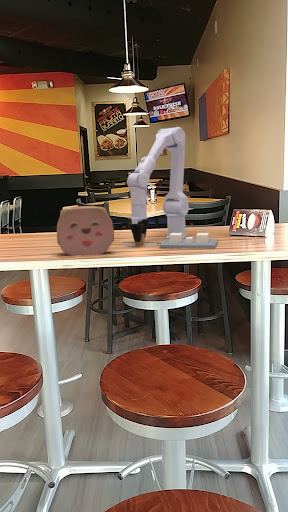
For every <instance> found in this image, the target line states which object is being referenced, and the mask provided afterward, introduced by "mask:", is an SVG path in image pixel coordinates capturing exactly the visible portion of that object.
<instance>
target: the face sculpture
mask: <svg viewBox="0 0 288 512" xmlns="http://www.w3.org/2000/svg"><path fill="white" fill-rule="evenodd" d="M56 240H57V241H56V242H57V244H58V246H59V248H60V249H61V251H62V252H63V253H65V254H66V255H68V256H70V257H77V256H76V255H81V256H92V255H93V256H94V255H95V254H98V255H103V254H105V253H106V252H107V251H108V250H109V248H110V247H111V246H112V244H113V242H114V241H115V230H114V224H113V220H112V218H111V217H110V216H109V214H108V212H107V209H106V208H105V207H102V206H96V205H83V206H82V205H81V206H79V205H78V206H77V205H76V206H73V207H65V208H63V209H61V210H60V214H59V218H58V220H57V224H56Z"/></svg>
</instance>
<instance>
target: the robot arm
mask: <svg viewBox="0 0 288 512" xmlns="http://www.w3.org/2000/svg"><path fill="white" fill-rule="evenodd" d="M164 149H166V150H168V151H169V152H170V154H171V157H170V158H171V159H170V172H169V174H170V175H169V191H168V192H167V194H166V195H165V196H164V201H163V205H162V210H163V211H162V212H163V213H164V214H165V216H166V217H167V220H166V221H167V223H166V224H167V236H165V237H164V238H165V239H170V234H171V233H182V239H185V238H186V237H188V235H189V234H188V233H186V219H185V218H186V216H187V214H188V213H189V209H190V206H189V198H188V196H187V195H185V193H184V176H185V175H184V173H185V158H186V157H185V155H186V153H185V152H186V133H185V131H184V129H182V127H180V126H176V127H168V128H160V129H159V130H158V131H157V133H156V134H155V141H154V143H153V144H152V146H151V148H150V151H149V153H148V154H147V156H143V157H142V158H141V159H140V162H139V164H138V165H137V166H136V168H135V169H134V172H132V173H130V174H128V177H127V180H126V184H127V186H128V188H129V190H128V191H129V192H130V208H131V209H130V211H131V212H130V213H131V216H128V219H131V223H128V228H129V229H130V231H131V233H132V237H133V242H140V241H141V234H144V235H145V238H146V236H147V232H148V231H147V230H148V227H149V224H150V223H151V222H150V221H151V220H150V219H148V215H147V191H146V190H147V187H148V185H149V183H150V178H151V174H152V173H153V171H154V169H155V168H156V166H157V163H156V161H157V159H158V157H159V156H160V155H161V154H162V152H163V151H164Z"/></svg>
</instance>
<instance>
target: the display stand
mask: <svg viewBox="0 0 288 512" xmlns="http://www.w3.org/2000/svg"><path fill="white" fill-rule="evenodd" d="M195 236H196V238H194V237H193V236H186V237H185V238H182V233H171V234H170V238H165V240H163V241H162V242H161V243H160V244H158V246H159V249H182V248H215V249H216V247H217V244H218V243H219V239H218V238H210V233H209V232H198V233H196V235H195Z"/></svg>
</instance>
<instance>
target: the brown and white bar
mask: <svg viewBox="0 0 288 512" xmlns="http://www.w3.org/2000/svg"><path fill="white" fill-rule="evenodd" d="M121 246H122V247H123V246H128V247H129V246H130V247H131V246H135V247H136V246H143V247H144V246H146V247H147V246H149V247H156V246H159V241H146V237H145V235H144V234H141V241H140V242H135V241H122V243H121Z"/></svg>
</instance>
